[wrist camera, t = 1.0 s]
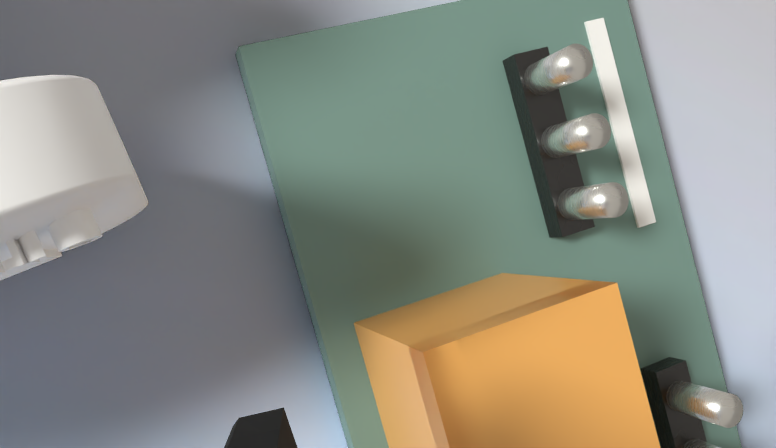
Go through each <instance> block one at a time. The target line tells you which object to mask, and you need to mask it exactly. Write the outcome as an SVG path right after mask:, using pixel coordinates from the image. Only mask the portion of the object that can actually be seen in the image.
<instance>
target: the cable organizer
mask: <svg viewBox="0 0 776 448" xmlns="http://www.w3.org/2000/svg"><path fill="white" fill-rule="evenodd" d="M147 205H148V199H147V197H146V195H145V193H144V190H143V188H142V186H141V183H140V181H139V179H138V176H137V174H136V172H135V170H134V167H133V165H132V163H131V160H130V158H129V156H128V154H127V151H126V149H125V147H124V145H123V142H122V140H121V138H120V136H119V133H118V131H117V129H116V127H115V124H114V122H113V120H112V118H111V115H110V113H109V111H108V109H107V107H106V104H105V102H104V100H103V98H102V95H101V93H100V91H99V89H98V86H97V85H96V84H95V83H94V82H93V81H91V80H90V79H87V78H84V77H79V76H74V75H44V76H31V77H21V78H14V79H7V80H1V81H0V280H3V279H5V278H8V277H10V276H13V275H16V274H18V273H21V272H23V271H26V270H28V269H31V268H33V267H36V266H38V265H41V264H43V263H46V262H49V261H51V260H54V259H56V258H59V257H61V256H62V254H61V252H64V251H67V250H71V249H74V248H76V247H79V246H82V245H84V244H87V243H90V242H92V241H94V240H97V239H99V238H101V237H102V233H104V232H106V231H108V230H110V229H113V228H114V227H116V226H118V225H120V224H122V223H124V222H125V221H127V220H129V219H130V218H132V217H134V216H135V215H137V214H138V213H140V212H141V211H142V210H143V209H144V208H145V207H146V206H147Z"/></svg>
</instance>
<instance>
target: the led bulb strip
mask: <svg viewBox="0 0 776 448" xmlns="http://www.w3.org/2000/svg"><path fill="white" fill-rule="evenodd" d="M503 65H504V69H505V73H506V76H507V80H508V84H509V88H510V91H511V95H512V99H513V103H514V106H515V110H516V114H517V118H518V121H519V125H520V129H521V133H522V136H523V140H524V144H525V148H526V151H527V155H528V159H529V163H530V166H531V170H532V174H533V178H534V181H535V185H536V189H537V193H538V196H539V200H540V204H541V208H542V211H543V215H544V219H545V223H546V226H547V230H548V234H549V238H554V237H565V236H568V235H571V234H574V233H577V232H580V231H583V230H586V229H590V228H593V227H595V225H594V221H593V219H600V218H616V217H619V216H621V215H622V214H624V213H625V211H626V210H627V207H628V203H629V197H628V193H627V191H626V189H625V188H624V187H623V186H622V185H621V184H619V183H616V182H610V183H603V184H596V185H589V186H584V183H583V179H582V175H581V171H580V168H579V164H578V160H577V156H576V154H577V153H582V152H586V151H590V150H595V149H599V148H602V147H604V146H605V145H606V144H607V143H608V142H609V140H610V136H611V128H610V124H609V122H608V121H607V119H606V118H605V117H604V116H602V115H600V114H597V113H592V114H589V115H585V116H582V117H579V118H576V119H572V120H569V121H567V118H566V114H565V111H564V107H563V103H562V99H561V95H560V92H559V88H561V87H563V86H566V85H568V84H571V83H573V82H576V81H578V80H581V79H583V78H585V77H587V76H588V75H589V74H590V72H591V70H592V68H593V58H592V55H591V53H590V51H589V50H588V49H587V48H586V47H585V46H583V45H581V44H571V45H569V46H567V47H565V48H563V49H561V50H559V51H557V52H555V53H553V54H551V55H550V54H549V50H548V47H543V48H539V49H535V50H531V51H526V52H522V53H518V54H514V55H512V56H510V57H508V58H507V59H505V60H503Z"/></svg>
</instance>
